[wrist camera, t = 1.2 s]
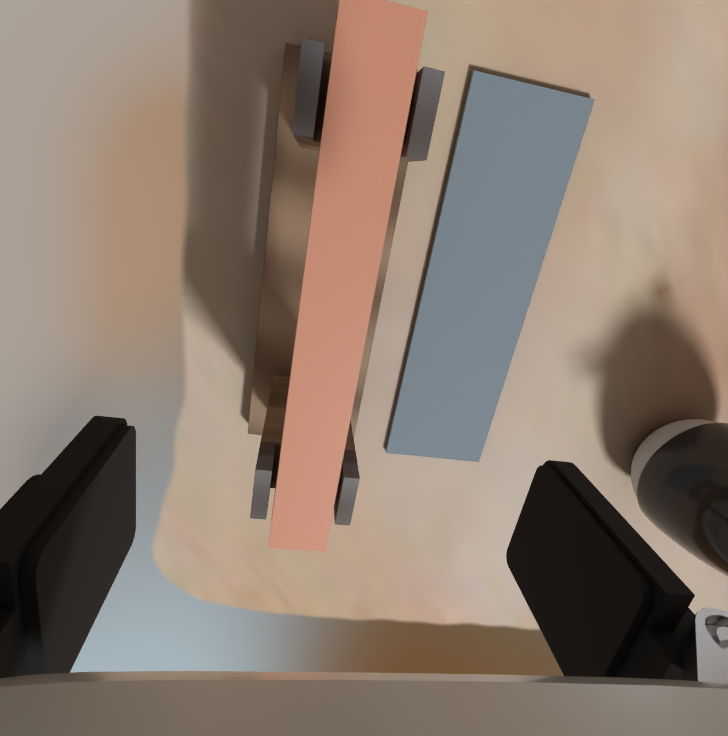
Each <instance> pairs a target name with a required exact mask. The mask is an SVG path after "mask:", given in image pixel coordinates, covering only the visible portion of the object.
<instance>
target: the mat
mask: <svg viewBox="0 0 728 736" xmlns="http://www.w3.org/2000/svg"><path fill="white" fill-rule="evenodd" d="M594 100H595V99H591V98H587V97H583V96H578V95H574V94H570V93H566V92H562V91H558V90H554V89H549V88H545V87H541V86H537V85H533V84H529V83H525V82H520V81H516V80H512V79H508V78H504V77H500V76H496V75H491V74H487V73H483V72H479V71H475V70H474V71H472V73H471V78H470V82H469V86H468V91H467V95H466V99H465V104H464V108H463V113H462V117H461V121H460V126H459V130H458V134H457V139H456V143H455V148H454V152H453V156H452V161H451V165H450V170H449V174H448V178H447V183H446V187H445V191H444V196H443V200H442V205H441V209H440V213H439V218H438V222H437V226H436V231H435V235H434V240H433V244H432V248H431V253H430V257H429V261H428V266H427V270H426V275H425V279H424V283H423V288H422V292H421V297H420V301H419V305H418V310H417V314H416V318H415V323H414V327H413V332H412V336H411V340H410V345H409V349H408V353H407V358H406V362H405V367H404V371H403V375H402V380H401V384H400V389H399V393H398V397H397V402H396V406H395V410H394V415H393V419H392V424H391V428H390V432H389V437H388V441H387V445H386V453H393V454H403V455H413V456H424V457H434V458H444V459H454V460H465V461H475V462H479V460H480V457H481V453H482V450H483V447H484V444H485V441H486V438H487V435H488V431H489V428H490V425H491V422H492V419H493V416H494V413H495V410H496V406H497V403H498V400H499V397H500V394H501V391H502V388H503V385H504V381H505V378H506V375H507V372H508V369H509V366H510V363H511V360H512V356H513V353H514V350H515V347H516V344H517V341H518V338H519V334H520V331H521V328H522V325H523V322H524V319H525V316H526V313H527V309H528V306H529V303H530V300H531V297H532V294H533V291H534V288H535V284H536V281H537V278H538V275H539V272H540V269H541V266H542V262H543V259H544V256H545V253H546V250H547V247H548V244H549V241H550V237H551V234H552V231H553V228H554V225H555V222H556V219H557V216H558V212H559V209H560V206H561V203H562V200H563V197H564V194H565V191H566V187H567V184H568V181H569V178H570V175H571V172H572V169H573V165H574V162H575V159H576V156H577V153H578V150H579V147H580V144H581V140H582V137H583V134H584V131H585V128H586V125H587V122H588V119H589V115H590V112H591V109H592V106H593V103H594Z"/></svg>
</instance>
